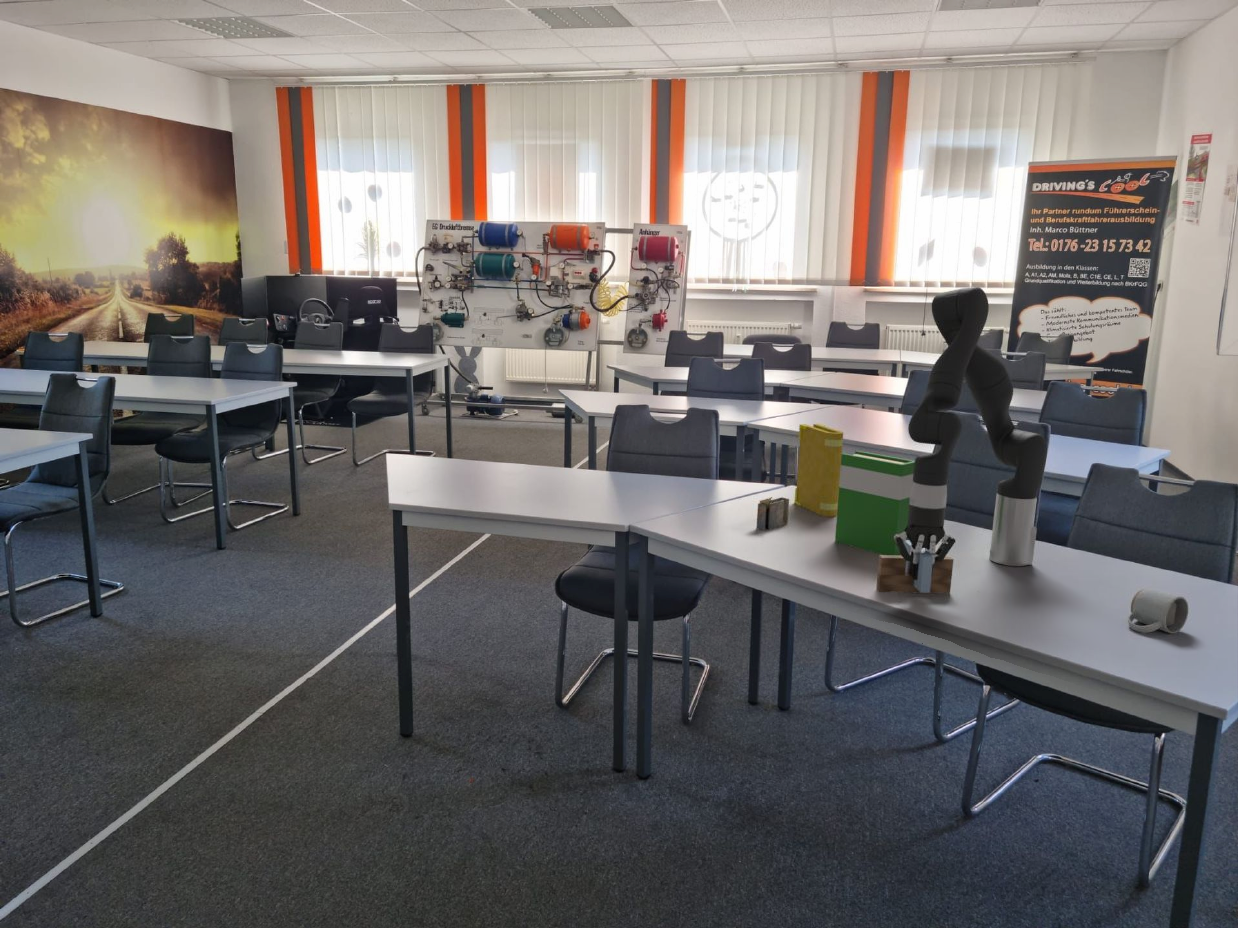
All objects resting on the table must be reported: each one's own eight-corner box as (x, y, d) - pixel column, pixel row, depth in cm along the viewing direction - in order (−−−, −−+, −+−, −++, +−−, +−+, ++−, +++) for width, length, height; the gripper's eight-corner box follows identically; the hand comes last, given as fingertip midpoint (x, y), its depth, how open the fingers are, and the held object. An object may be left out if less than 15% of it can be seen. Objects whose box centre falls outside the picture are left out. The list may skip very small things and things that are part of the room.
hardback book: (834, 541, 236) (841, 453, 231) (850, 536, 241) (857, 450, 236) (894, 557, 224) (902, 465, 219) (909, 551, 229) (917, 461, 224)
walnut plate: (946, 590, 200) (950, 556, 199) (949, 593, 198) (953, 559, 197) (876, 588, 200) (879, 554, 199) (878, 591, 198) (881, 557, 197)
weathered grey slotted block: (765, 532, 245) (767, 498, 243) (756, 530, 247) (758, 496, 245) (788, 525, 253) (791, 492, 251) (780, 522, 255) (782, 490, 253)
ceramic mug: (1147, 616, 187) (1152, 582, 185) (1186, 630, 180) (1192, 594, 178) (1115, 625, 182) (1120, 590, 181) (1154, 639, 175) (1160, 603, 173)
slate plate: (900, 573, 205) (903, 540, 203) (909, 573, 205) (912, 540, 203) (920, 592, 191) (923, 556, 190) (929, 592, 191) (933, 557, 190)
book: (794, 503, 277) (799, 424, 271) (813, 501, 279) (818, 423, 273) (822, 517, 261) (828, 433, 256) (842, 515, 263) (848, 433, 258)
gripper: (953, 499, 195) (945, 574, 198) (890, 497, 195) (883, 572, 198) (966, 508, 187) (957, 585, 191) (901, 506, 187) (893, 583, 191)
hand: (920, 578), depth 194 cm, fingers closed on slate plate, 2 cm apart
